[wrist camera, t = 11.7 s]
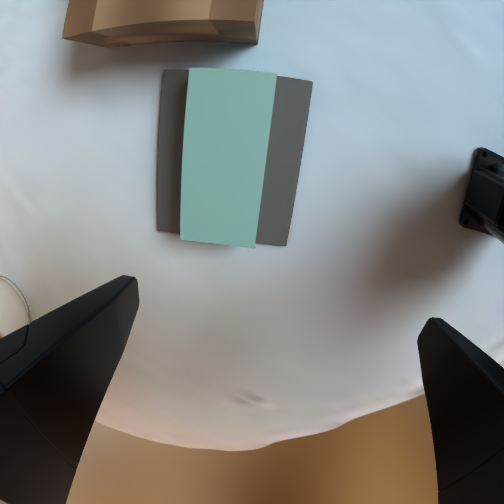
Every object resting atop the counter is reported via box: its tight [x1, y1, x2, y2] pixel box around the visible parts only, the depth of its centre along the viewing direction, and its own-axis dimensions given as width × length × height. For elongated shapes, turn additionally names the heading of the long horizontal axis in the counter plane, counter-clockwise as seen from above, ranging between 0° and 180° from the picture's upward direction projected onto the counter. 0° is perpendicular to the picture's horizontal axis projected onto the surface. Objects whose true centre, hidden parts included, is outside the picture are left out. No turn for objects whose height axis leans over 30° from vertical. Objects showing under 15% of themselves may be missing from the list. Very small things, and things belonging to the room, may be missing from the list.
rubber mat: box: [157, 70, 313, 246], centre depth 18 cm, size 9×11×1 cm
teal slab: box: [180, 68, 277, 248], centre depth 16 cm, size 4×10×2 cm, turn 174°
